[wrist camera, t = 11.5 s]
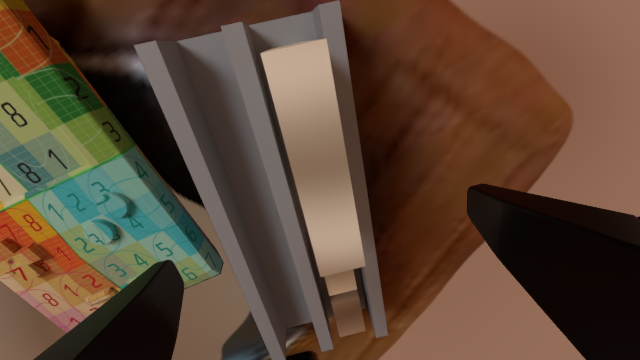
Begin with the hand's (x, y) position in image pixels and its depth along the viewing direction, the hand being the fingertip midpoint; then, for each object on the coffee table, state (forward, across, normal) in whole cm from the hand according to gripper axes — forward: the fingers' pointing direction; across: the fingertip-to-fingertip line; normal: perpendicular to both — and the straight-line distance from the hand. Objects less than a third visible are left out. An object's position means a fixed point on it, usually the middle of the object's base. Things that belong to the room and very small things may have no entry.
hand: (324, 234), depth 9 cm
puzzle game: (+13, +16, 0) cm, 20 cm away
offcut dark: (+11, 0, +15) cm, 19 cm away
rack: (+13, +1, +6) cm, 14 cm away
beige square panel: (+11, 0, -1) cm, 11 cm away
